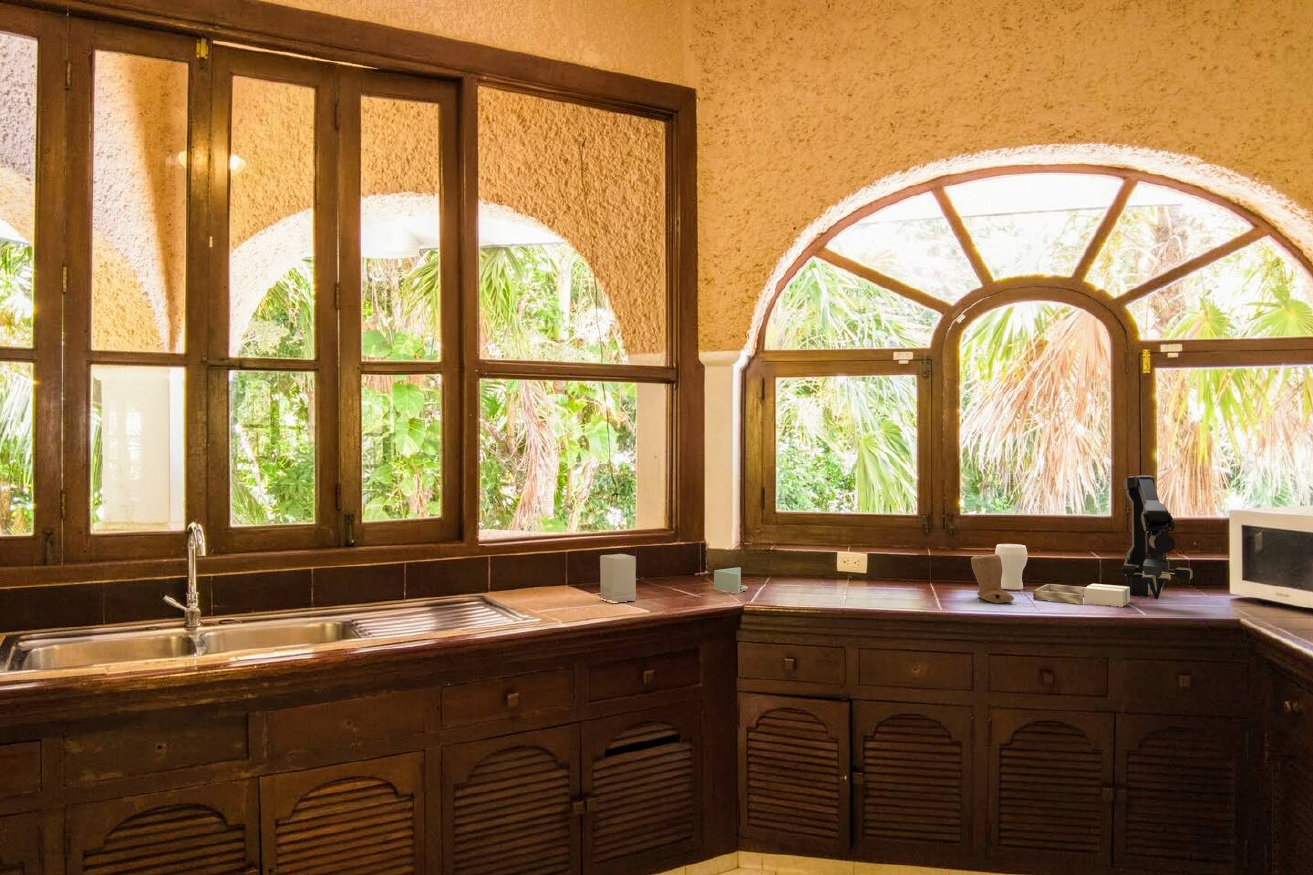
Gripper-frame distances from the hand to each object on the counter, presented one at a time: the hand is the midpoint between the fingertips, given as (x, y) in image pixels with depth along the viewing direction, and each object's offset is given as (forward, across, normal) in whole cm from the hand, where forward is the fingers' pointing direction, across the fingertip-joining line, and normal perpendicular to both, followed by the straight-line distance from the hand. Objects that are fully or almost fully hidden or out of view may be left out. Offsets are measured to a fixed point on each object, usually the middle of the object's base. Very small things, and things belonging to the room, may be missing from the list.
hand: (1156, 599), depth 277 cm
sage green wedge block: (+3, -122, -50) cm, 132 cm away
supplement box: (+3, -142, -91) cm, 169 cm away
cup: (+3, -47, +11) cm, 48 cm away
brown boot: (+3, -45, -17) cm, 48 cm away
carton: (+3, -14, 0) cm, 14 cm away
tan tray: (+2, -26, 0) cm, 26 cm away
